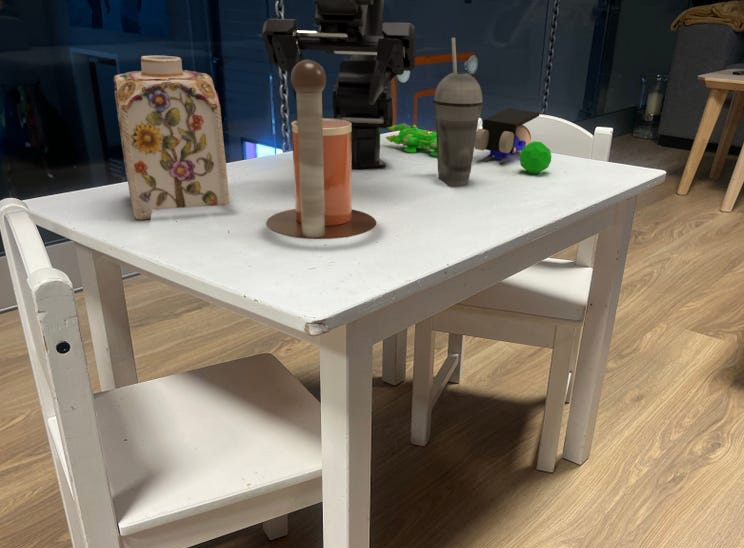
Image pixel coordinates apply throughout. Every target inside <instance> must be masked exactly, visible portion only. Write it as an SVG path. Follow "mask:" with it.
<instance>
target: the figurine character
mask: <svg viewBox="0 0 744 548" xmlns="http://www.w3.org/2000/svg"><path fill="white" fill-rule="evenodd" d="M539 117H540V112H538V111H532V110H531V111H530V110H524V109H517V108H512V107H511V108H510V107H508V108H505V109H503V110H500V111H498V112H497V113H494V114H493V115H490V116H488V117H485V118H483V119H482V128H478V129H477V132H476V139H475V145H474V150H477V151H489V154H488V155H486V156H485V157H484V158H483V161H485V162H488V161H490V160H491V159H492V158H495V159H500V160H499V164H503V163H505V162H506V161H507V160H508V159H509V157H510V156H509V155H513V154H515V153H520V152H521V150H522V148H523V147H525V146H526V145H528V144H529V143H531V141H532V140H531V139H532V135H531V132H530V130H529V128H528V127H527V126H525V124H527V123H530V122H531V121H533V120H534V119H536V118H539Z"/></svg>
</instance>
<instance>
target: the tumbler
mask: <svg viewBox="0 0 744 548" xmlns="http://www.w3.org/2000/svg"><path fill="white" fill-rule="evenodd" d="M322 123H323V164H324V206H325V226H333V225H340V224H344V223H347V222H349V221H350V220H351V218H352V210H353V208H352V207H353V206H352V205H353V200H352V198H353V196H352V194H353V193H352V192H353V190H352V187H353V186H352V184H353V183H352V178H353V177H352V168H351V131H352V124H351V123H350V122H348V121H345V120H339V119H334V118H326V117H325V118H324V117H322ZM290 125H291V126H290V127H291V138H292V139H291V140H292V160H293V161H292V162H293V163H292V165H293V183H294V184H293V186H294V207H295V208H294V209H295V211H296V219H297V221H299V222H301V199H300V173H299V148H298V122H297V119H296V120H293V121H292V122H291V124H290Z"/></svg>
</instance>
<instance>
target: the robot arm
mask: <svg viewBox="0 0 744 548" xmlns="http://www.w3.org/2000/svg"><path fill="white" fill-rule="evenodd" d="M313 4H314V5H315V6H316V8H315V16H314V20H315V23H316V26H319V30H300V29H299V24H298V20H297V19H293V18H291V19H290V18H266V21H265V22H264V23H263V26H262V27H263V28H262V32H261V33H262V34H261V36H262V39H263V42H264V46H265V49H266V52H267V55H268V59H269V61H270V64H272V65H273V66H275V67H279V70H281V71H283V72H288V76H289V78H290V80H291V73H292V70H293V68H294V66H295V65H296V64H297V63H299V62H300V61H303V58H304V57H303V56H304V54H303V53H304V51H322V52H323V51H324V52H325V54H337V55H350V59H342V60H341V61H340V64H339V71H338V77H337V82H336V85H333V88H332V110H333V119H339V120H345V121H348V122H350V123H351V124H352V131H351V169H370V168H372V169H373V168H386V167H387V163H385V162H384V161H383V160H382V159H381V129H388V128H390V127H393V126H394V109H393V97H392V96H391V95H390V92H389V87H387V86H388V84H390V83H391V81H392V80H393V79H394V78H395V77H396V76H402V75H404V72H410V71H412V70H414V69H415V66H416V53H417V52H416V50H417V49H416V28H415V26H414V25H413V24H412V23H411V22H387V21H384V22H383V19H384V18H383V17H384V9H385V8H384V7H385V0H313ZM291 87H292V94H293V97H294V101H295V102H296V103H297V97H296V91H295V89H294V88H293V86H292V85H291Z"/></svg>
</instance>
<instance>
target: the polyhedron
mask: <svg viewBox="0 0 744 548" xmlns="http://www.w3.org/2000/svg"><path fill="white" fill-rule="evenodd" d="M551 152H552V151H551V149H550V148H549V147H547V145H545V144H544V143H543V142H542V141H536V140H535V141H530V143H529V144H528V145H526V146H525V147H523V148H522V150H521V152H519V157H518V158H519V163H520V164H519V165H520V166H521V167H522V168H523V169H524V170H525V171H526V172H527V173H528V174H530V175H531V174H532V175H538V174H540V173H541V172H543V171H545V170H546V169H548V168H549V166H550V164H551V162H552V153H551Z"/></svg>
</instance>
